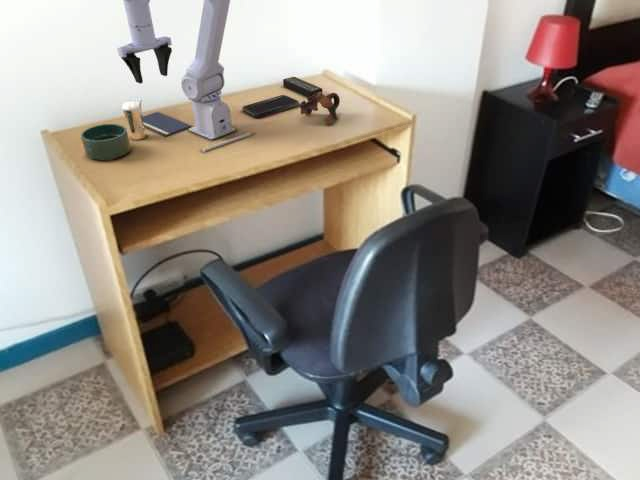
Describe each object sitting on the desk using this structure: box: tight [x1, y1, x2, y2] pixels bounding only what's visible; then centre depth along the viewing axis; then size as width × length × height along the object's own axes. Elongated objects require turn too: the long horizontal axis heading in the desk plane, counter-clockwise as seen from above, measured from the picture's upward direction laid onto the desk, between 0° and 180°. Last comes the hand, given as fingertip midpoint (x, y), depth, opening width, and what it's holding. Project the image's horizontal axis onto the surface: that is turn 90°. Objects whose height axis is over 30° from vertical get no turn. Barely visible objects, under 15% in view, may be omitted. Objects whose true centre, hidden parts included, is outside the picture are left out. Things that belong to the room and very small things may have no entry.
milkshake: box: [121, 99, 146, 141], centre depth 145 cm, size 4×5×10 cm
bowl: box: [80, 123, 132, 161], centre depth 139 cm, size 10×10×5 cm
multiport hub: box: [282, 76, 323, 99], centre depth 175 cm, size 4×14×2 cm, turn 41°
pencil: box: [201, 132, 253, 153], centre depth 146 cm, size 1×1×15 cm
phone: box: [242, 94, 300, 119], centre depth 164 cm, size 8×1×15 cm
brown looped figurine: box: [298, 91, 341, 126], centre depth 158 cm, size 12×10×8 cm
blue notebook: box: [142, 111, 192, 137], centre depth 155 cm, size 15×8×1 cm, turn 51°
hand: (151, 78), depth 153 cm, fingers open, 7 cm apart
